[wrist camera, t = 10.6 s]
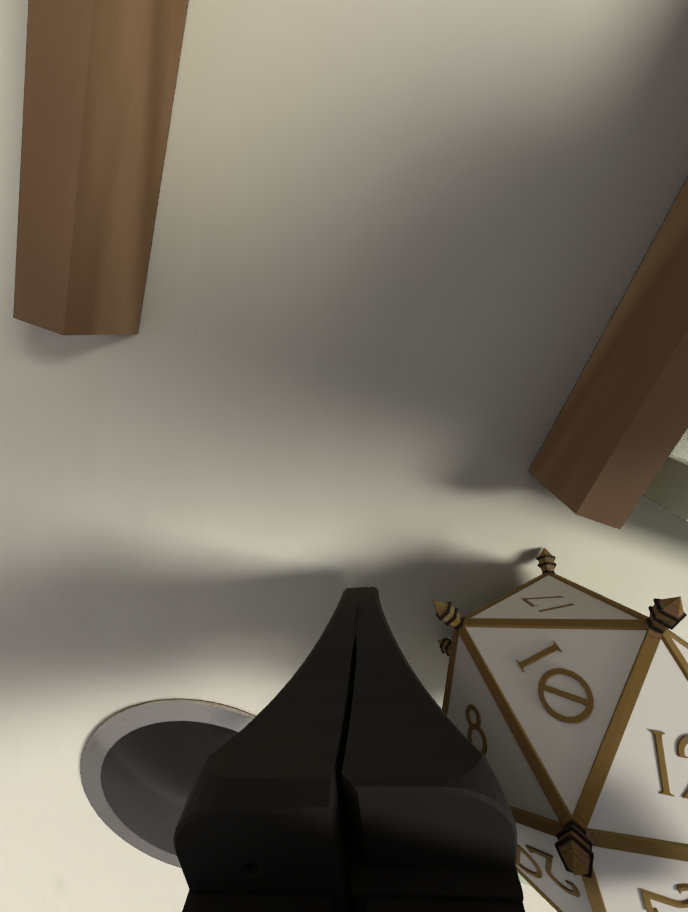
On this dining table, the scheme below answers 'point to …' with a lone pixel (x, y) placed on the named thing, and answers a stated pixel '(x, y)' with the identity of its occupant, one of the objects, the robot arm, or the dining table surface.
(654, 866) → the game die
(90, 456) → the dining table surface
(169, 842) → the dark grey round dish
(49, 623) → the dining table surface
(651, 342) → the wooden arch frame
